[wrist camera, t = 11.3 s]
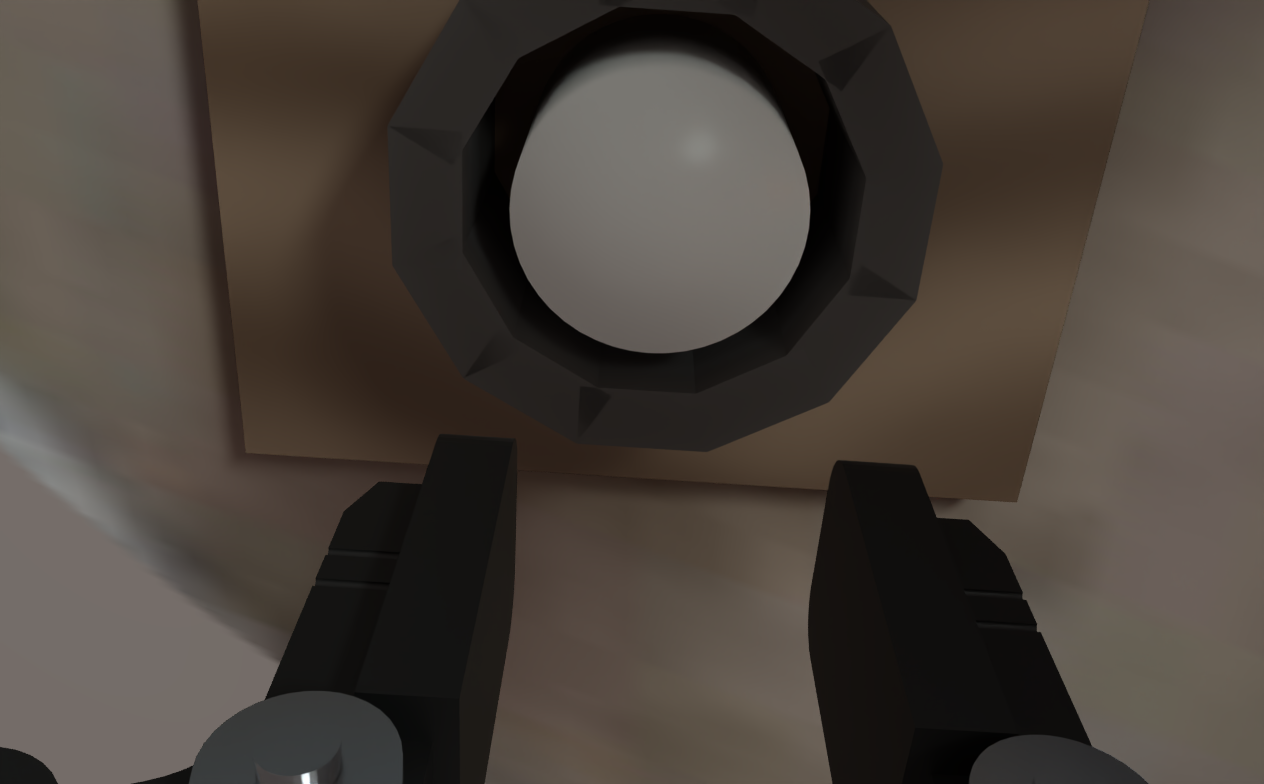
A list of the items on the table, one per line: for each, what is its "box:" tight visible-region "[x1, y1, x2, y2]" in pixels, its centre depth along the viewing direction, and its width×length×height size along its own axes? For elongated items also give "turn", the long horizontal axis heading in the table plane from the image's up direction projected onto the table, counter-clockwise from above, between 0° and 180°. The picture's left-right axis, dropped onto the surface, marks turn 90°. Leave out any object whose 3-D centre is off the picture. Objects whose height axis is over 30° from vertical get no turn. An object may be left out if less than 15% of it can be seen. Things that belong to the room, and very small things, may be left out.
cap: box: [510, 14, 810, 353], centre depth 21 cm, size 5×5×4 cm
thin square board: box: [197, 0, 1149, 502], centre depth 22 cm, size 16×18×6 cm
